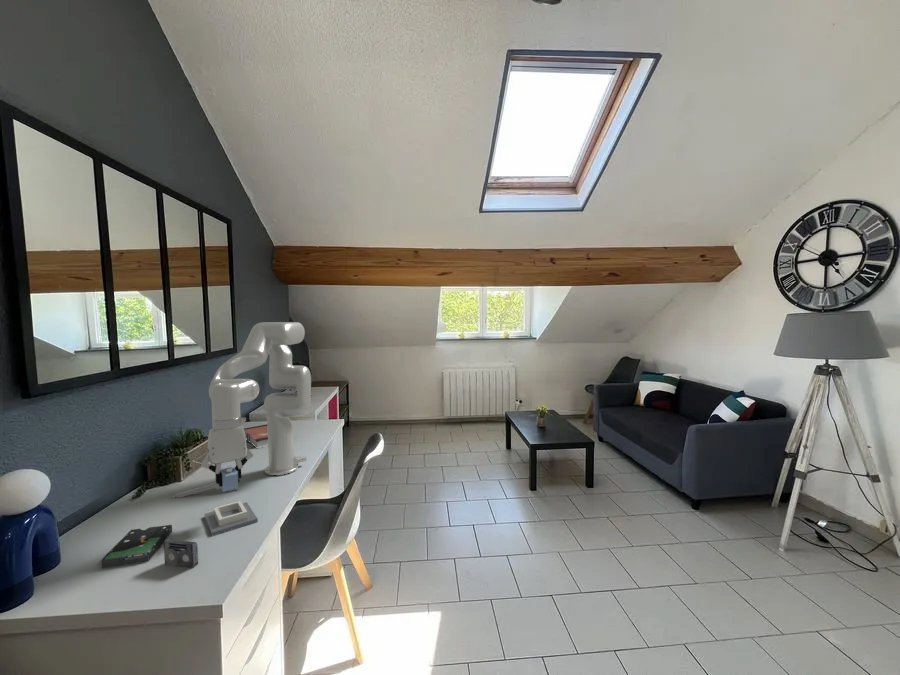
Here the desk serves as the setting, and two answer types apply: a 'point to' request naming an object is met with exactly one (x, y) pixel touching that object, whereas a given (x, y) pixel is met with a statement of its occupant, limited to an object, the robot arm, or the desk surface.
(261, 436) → the book
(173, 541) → the mini dv tape
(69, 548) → the desk surface
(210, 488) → the caliper
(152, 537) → the disk drive
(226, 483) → the servo block
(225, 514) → the plate
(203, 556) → the desk surface
